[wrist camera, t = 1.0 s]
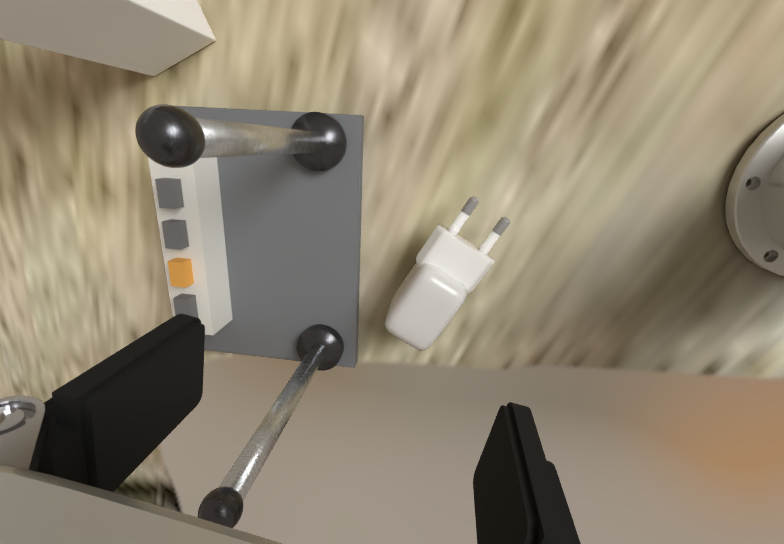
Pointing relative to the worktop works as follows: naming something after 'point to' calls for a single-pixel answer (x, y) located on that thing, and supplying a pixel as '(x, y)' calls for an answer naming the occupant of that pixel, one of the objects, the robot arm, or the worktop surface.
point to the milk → (110, 30)
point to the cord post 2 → (272, 426)
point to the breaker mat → (264, 242)
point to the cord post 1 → (237, 138)
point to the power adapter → (440, 281)
